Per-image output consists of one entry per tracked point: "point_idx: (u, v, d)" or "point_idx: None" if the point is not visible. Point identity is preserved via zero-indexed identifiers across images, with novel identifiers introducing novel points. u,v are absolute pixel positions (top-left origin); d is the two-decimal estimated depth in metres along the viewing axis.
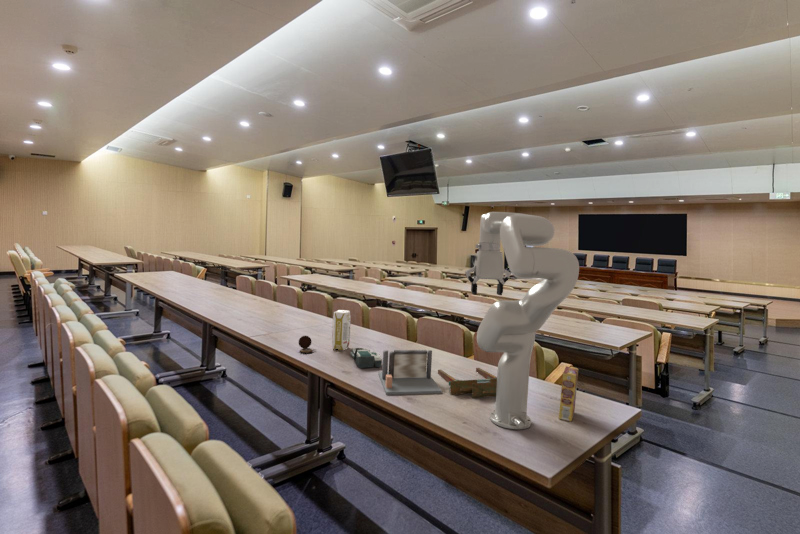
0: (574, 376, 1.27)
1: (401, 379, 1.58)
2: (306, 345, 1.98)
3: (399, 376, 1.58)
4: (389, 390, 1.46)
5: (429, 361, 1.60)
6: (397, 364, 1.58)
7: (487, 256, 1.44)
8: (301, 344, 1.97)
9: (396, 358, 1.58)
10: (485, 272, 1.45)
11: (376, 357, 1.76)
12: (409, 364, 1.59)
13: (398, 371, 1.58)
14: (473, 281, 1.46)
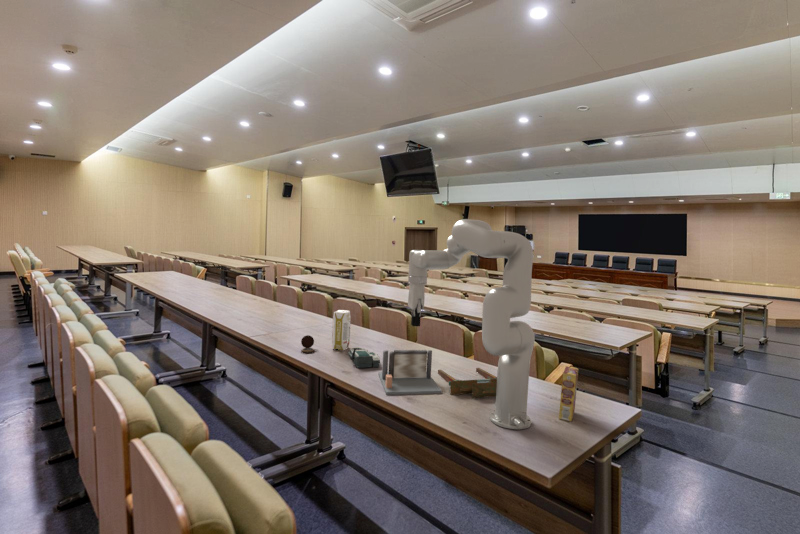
0: (574, 376, 1.27)
1: (401, 379, 1.58)
2: (309, 345, 1.98)
3: (399, 376, 1.58)
4: (389, 390, 1.46)
5: (429, 361, 1.60)
6: (397, 364, 1.58)
7: (409, 287, 1.64)
8: (304, 344, 1.98)
9: (396, 358, 1.58)
10: (408, 301, 1.65)
11: (374, 357, 1.76)
12: (409, 364, 1.59)
13: (398, 371, 1.58)
14: None
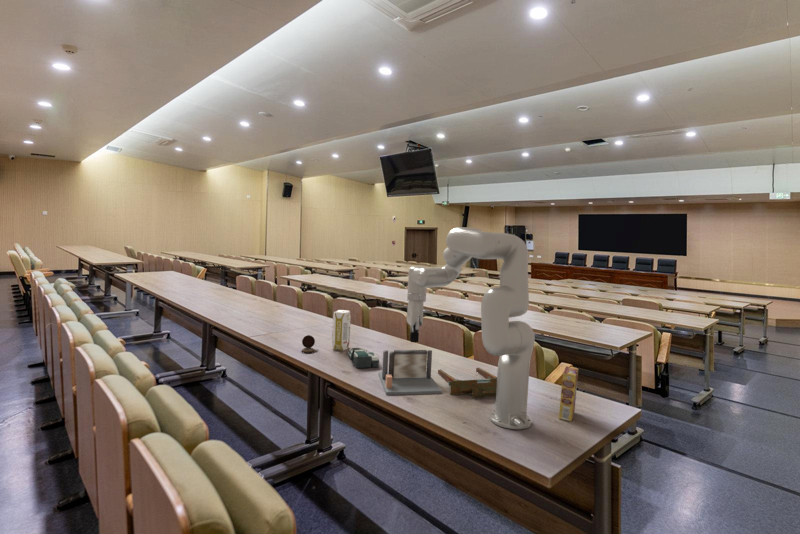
0: (574, 376, 1.27)
1: (401, 379, 1.58)
2: (310, 345, 1.98)
3: (399, 376, 1.58)
4: (389, 390, 1.46)
5: (429, 361, 1.60)
6: (397, 364, 1.58)
7: (408, 303, 1.65)
8: (305, 343, 1.98)
9: (396, 358, 1.58)
10: (407, 317, 1.66)
11: (373, 357, 1.76)
12: (409, 364, 1.59)
13: (398, 371, 1.58)
14: None
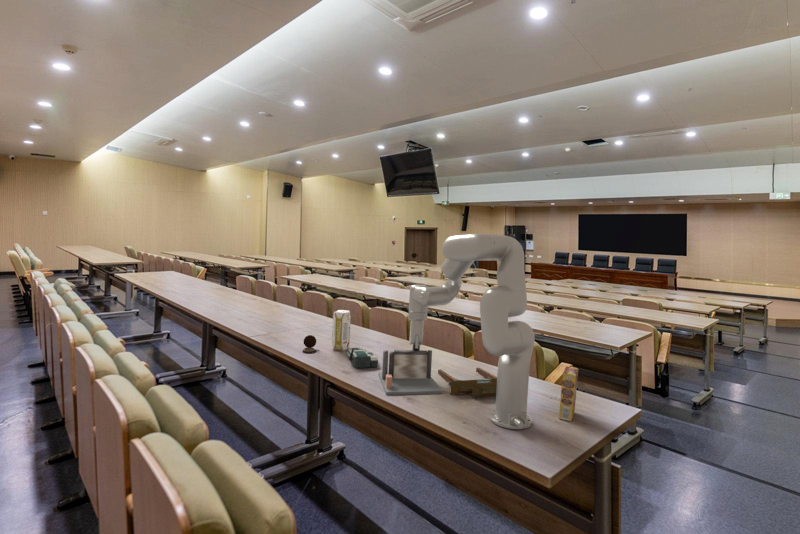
0: (574, 376, 1.27)
1: (401, 379, 1.58)
2: (311, 345, 1.99)
3: (399, 376, 1.58)
4: (389, 390, 1.46)
5: (429, 361, 1.60)
6: (397, 365, 1.58)
7: None
8: (306, 343, 1.98)
9: (396, 358, 1.57)
10: None
11: (372, 357, 1.76)
12: (409, 364, 1.58)
13: (398, 371, 1.58)
14: None
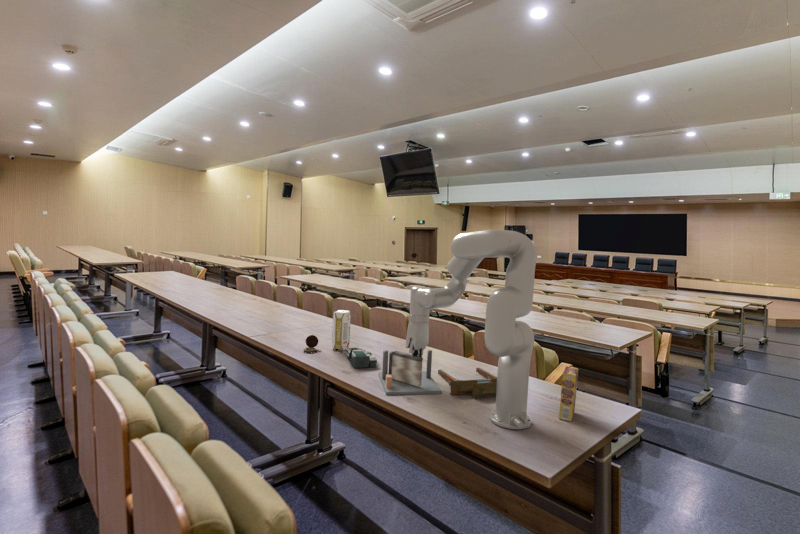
0: (574, 376, 1.27)
1: None
2: (313, 345, 1.99)
3: (396, 378, 1.56)
4: (389, 390, 1.46)
5: (429, 361, 1.60)
6: (394, 366, 1.56)
7: None
8: (308, 343, 1.99)
9: (393, 358, 1.57)
10: None
11: (371, 357, 1.76)
12: (404, 368, 1.53)
13: (395, 372, 1.56)
14: None
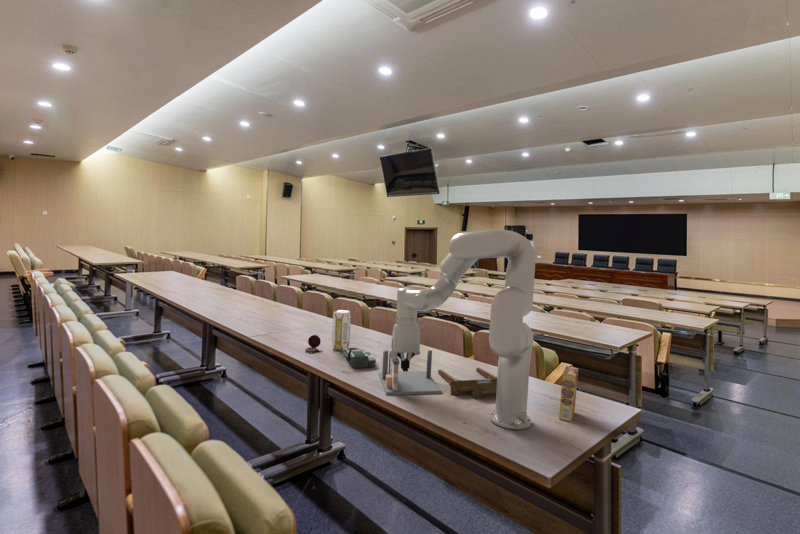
0: (574, 376, 1.27)
1: (401, 379, 1.58)
2: (315, 345, 1.99)
3: None
4: (389, 390, 1.46)
5: (429, 361, 1.60)
6: (390, 366, 1.56)
7: None
8: (311, 343, 1.99)
9: (390, 358, 1.56)
10: None
11: (370, 357, 1.76)
12: (391, 369, 1.51)
13: (390, 373, 1.56)
14: None
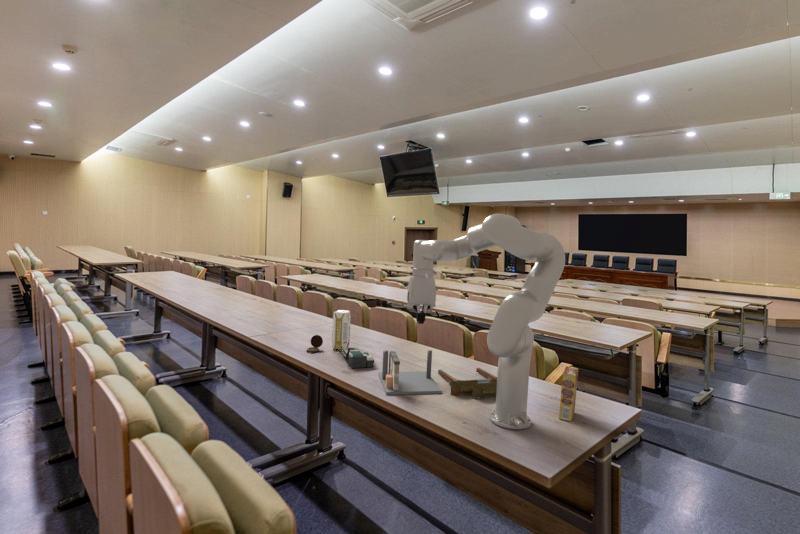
0: (574, 376, 1.27)
1: (401, 379, 1.58)
2: (318, 345, 1.99)
3: None
4: (389, 390, 1.46)
5: (429, 361, 1.60)
6: (390, 366, 1.56)
7: None
8: (313, 343, 2.00)
9: (390, 358, 1.56)
10: None
11: (368, 357, 1.76)
12: (392, 369, 1.51)
13: (390, 373, 1.56)
14: None
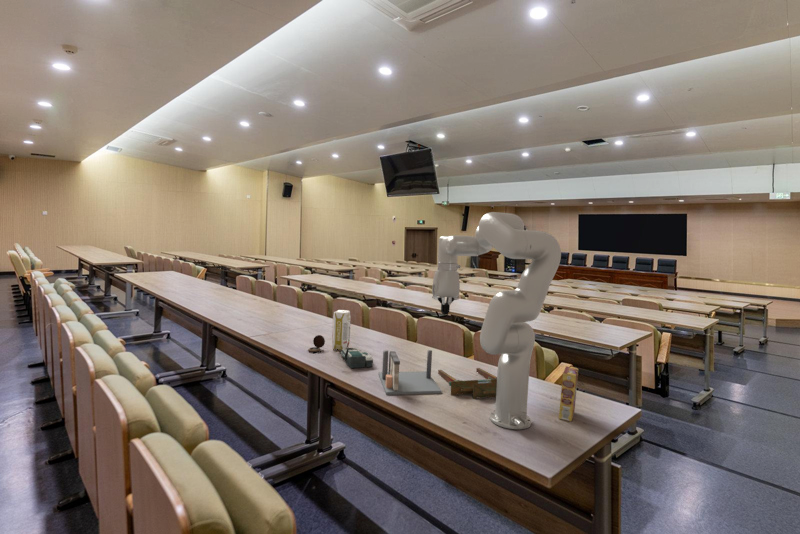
0: (574, 376, 1.27)
1: (401, 379, 1.58)
2: (320, 345, 1.99)
3: None
4: (389, 390, 1.46)
5: (429, 361, 1.60)
6: (390, 366, 1.56)
7: None
8: (316, 343, 2.00)
9: (390, 358, 1.56)
10: None
11: (367, 357, 1.76)
12: (392, 369, 1.51)
13: (390, 373, 1.56)
14: None
